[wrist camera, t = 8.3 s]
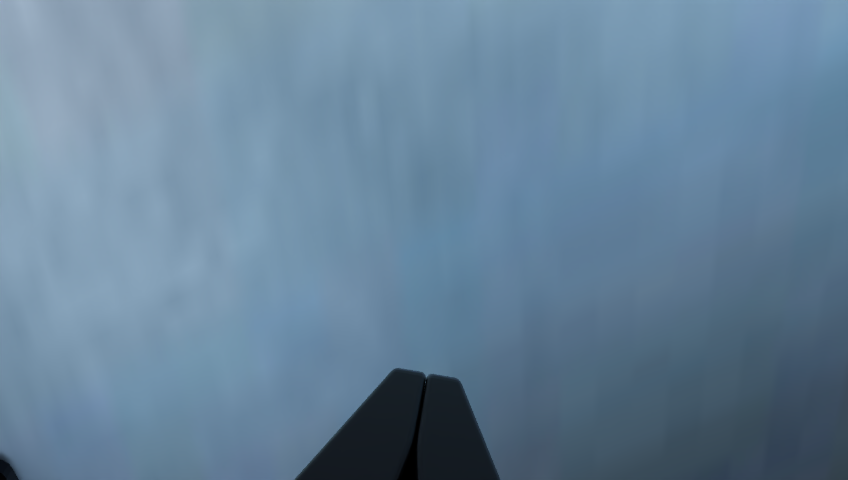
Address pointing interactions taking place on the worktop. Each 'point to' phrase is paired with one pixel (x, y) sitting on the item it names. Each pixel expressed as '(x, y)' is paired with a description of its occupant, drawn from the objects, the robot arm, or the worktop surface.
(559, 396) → the worktop surface
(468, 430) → the robot arm
